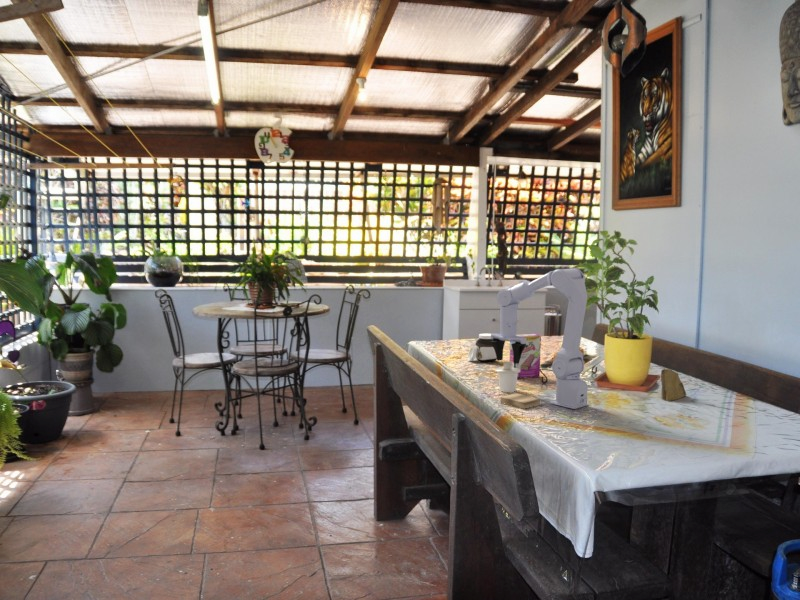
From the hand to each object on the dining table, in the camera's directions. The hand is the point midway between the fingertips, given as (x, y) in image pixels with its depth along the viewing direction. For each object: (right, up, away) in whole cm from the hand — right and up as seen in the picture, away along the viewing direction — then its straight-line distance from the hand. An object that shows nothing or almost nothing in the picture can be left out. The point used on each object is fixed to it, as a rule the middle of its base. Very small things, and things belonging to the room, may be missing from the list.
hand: (508, 361), depth 232 cm
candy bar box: (+10, -8, +23) cm, 26 cm away
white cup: (0, -11, +1) cm, 11 cm away
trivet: (+1, -12, -17) cm, 21 cm away
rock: (+54, -12, -10) cm, 57 cm away
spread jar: (-2, -5, +54) cm, 54 cm away
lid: (0, -3, 0) cm, 3 cm away
